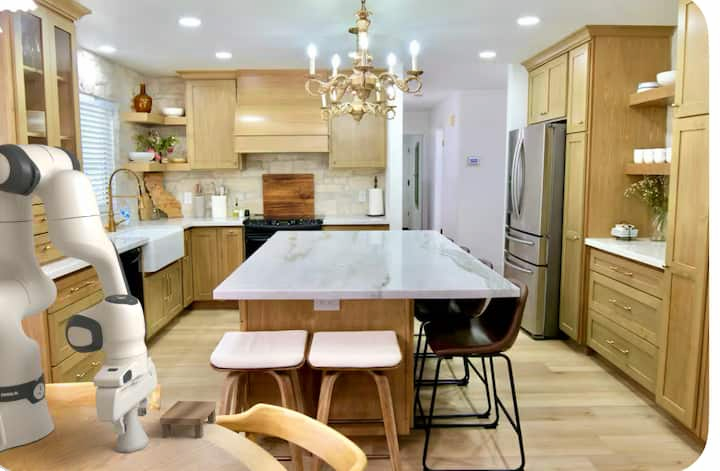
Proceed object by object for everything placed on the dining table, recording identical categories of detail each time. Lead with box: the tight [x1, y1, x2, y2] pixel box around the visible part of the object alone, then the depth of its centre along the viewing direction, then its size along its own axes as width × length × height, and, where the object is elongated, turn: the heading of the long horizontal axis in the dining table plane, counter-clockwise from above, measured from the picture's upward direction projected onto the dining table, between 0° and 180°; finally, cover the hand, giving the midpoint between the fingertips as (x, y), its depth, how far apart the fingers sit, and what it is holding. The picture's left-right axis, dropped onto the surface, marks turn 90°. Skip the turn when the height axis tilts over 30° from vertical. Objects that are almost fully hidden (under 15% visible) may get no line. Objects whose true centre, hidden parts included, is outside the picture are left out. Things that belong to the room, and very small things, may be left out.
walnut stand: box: [159, 400, 217, 439], centre depth 135 cm, size 10×10×5 cm
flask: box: [114, 403, 151, 454], centre depth 127 cm, size 7×7×10 cm
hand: (132, 423), depth 127 cm, fingers open, 8 cm apart
